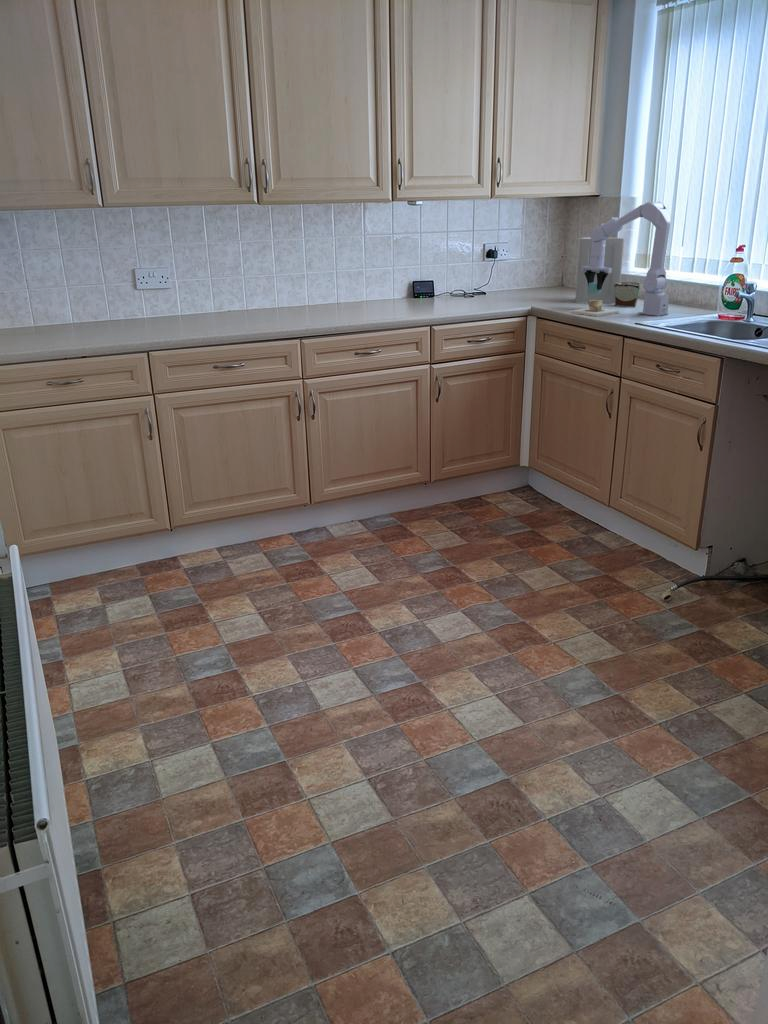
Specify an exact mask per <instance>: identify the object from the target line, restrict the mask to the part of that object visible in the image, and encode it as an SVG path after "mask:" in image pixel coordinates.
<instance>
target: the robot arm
mask: <svg viewBox="0 0 768 1024" xmlns="http://www.w3.org/2000/svg"><path fill="white" fill-rule="evenodd" d="M639 218H644V219H645V220H647V221H649V222H651V224H652V225H653V226H654V227H655V230H654V231H655V232H654V239H653V244H652V245H653V246H652V253H651V259H650V265H649V269H648V270H647V272H646V275H645V278H644V280H643V283H642V287H643V289H644V299H643V307H642V311H639V312H637V313H638V314H640V315H649V316H655V317H657V316H658V317H659V316H666V315H669V312H668V311H669V301H670V296H669V294H668V293H664V289H665V288H666V286H667V284H668V280H667V272H666V270H665V262H666V255H667V249H668V243H669V236H670V228H671V220H670V216H669V214H668V207H667V206H666V205H665V204H664V203H663V202H661V201H656V202H654V201H653V202H651V201H648V202H645V203H644V204H640V205H639V206H637V207H636V208H635V207H634V209H632V210H630V211H629V212H627V213H625V214H624V215H623V216H621V217H611V218H609V220H608V221H606V222H605V223H600V224H599V226H594V227H593V228H592V229H591V230H590V232H589V237H590V238H591V240H592V247H591V260H590V266H582V271H586V272H585V273H584V274H585V276H586V279H587V282H588V286H589V283H594V278H595V274H596V275H597V290H601V289H602V285H603V283H604V280H605V278H606V277H607V275H608V273H612V268H606V267H604V255H605V244H606V240H607V238H608V237H612V236H613V235H615V234H617V233H619V232H620V231H622V230H623V227H624V226H625V225H627V224H629V223H631V222H633V221H635V220H637V219H639ZM597 270H599V271H597ZM596 272H600V273H596Z"/></svg>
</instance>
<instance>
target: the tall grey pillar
mask: <svg viewBox="0 0 768 1024" xmlns="http://www.w3.org/2000/svg"><path fill="white" fill-rule="evenodd" d="M624 246H625V238H623V237H613V236H609V237H608V238H607V240H606V244H605V255H604V267H606V268H612V273H608V275H607V277H606V278H605V280H604V283H603V285H602V290H601V293H588V282H587V279H586V276H585V274H584V273H585V272H586V271H582V266H590V260H591V247H592V240H591V238H590V236H589V237H580V238H579V249H578V262H577V274H576V287H575V299H574V300H575V301H576V302H589V301H590V300H602V304H615V287H614V284H615V282H622V280H621V278H622V268H623V257H624V248H625V247H624ZM597 271H599V270H597ZM596 273H600V272H596ZM594 282H596V283H597V275H596V274H595V278H594ZM576 302H575V303H576Z"/></svg>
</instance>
